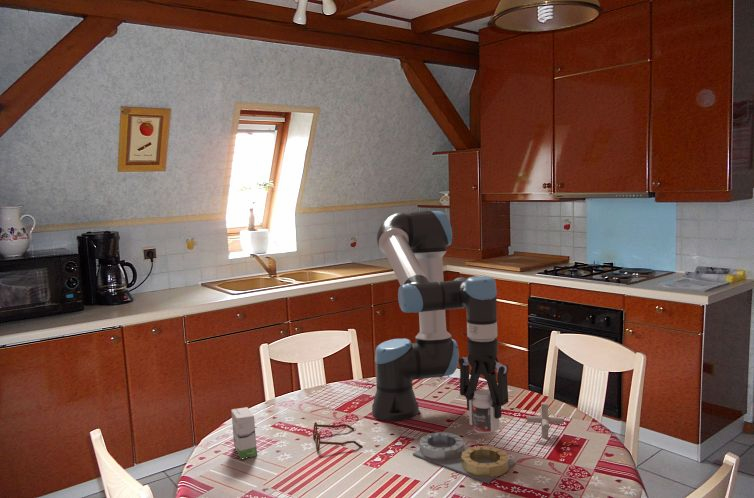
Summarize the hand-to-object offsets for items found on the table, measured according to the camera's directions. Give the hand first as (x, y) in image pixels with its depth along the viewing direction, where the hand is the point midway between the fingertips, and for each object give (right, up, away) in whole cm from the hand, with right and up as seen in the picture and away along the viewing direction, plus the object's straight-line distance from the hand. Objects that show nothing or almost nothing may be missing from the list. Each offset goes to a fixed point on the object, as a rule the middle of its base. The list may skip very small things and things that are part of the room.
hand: (484, 426), depth 152 cm
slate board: (-5, -11, +6) cm, 13 cm away
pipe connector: (+21, -9, +18) cm, 29 cm away
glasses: (-39, -11, +21) cm, 46 cm away
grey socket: (-10, -10, +11) cm, 18 cm away
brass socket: (0, -11, +1) cm, 11 cm away
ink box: (-65, -12, +16) cm, 68 cm away
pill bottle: (0, -1, 0) cm, 1 cm away
